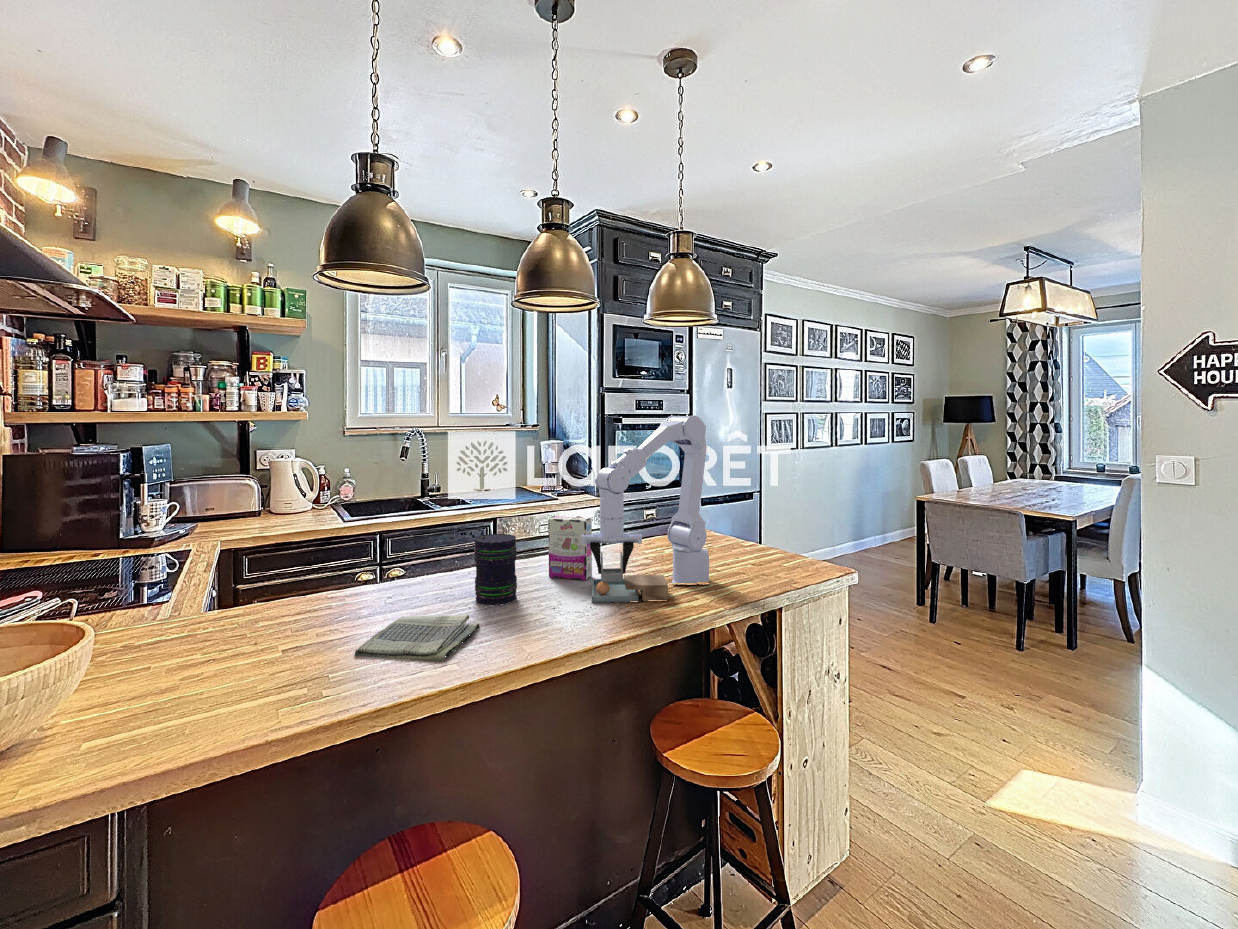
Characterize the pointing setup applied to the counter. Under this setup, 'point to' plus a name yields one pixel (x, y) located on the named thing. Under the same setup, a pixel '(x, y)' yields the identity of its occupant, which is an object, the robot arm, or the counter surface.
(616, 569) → the sleeve
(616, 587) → the tray
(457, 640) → the dish towel
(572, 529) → the candy bar box
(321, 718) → the counter surface
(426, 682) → the counter surface
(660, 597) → the stand
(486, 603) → the storage jar
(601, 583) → the ball
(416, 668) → the counter surface
